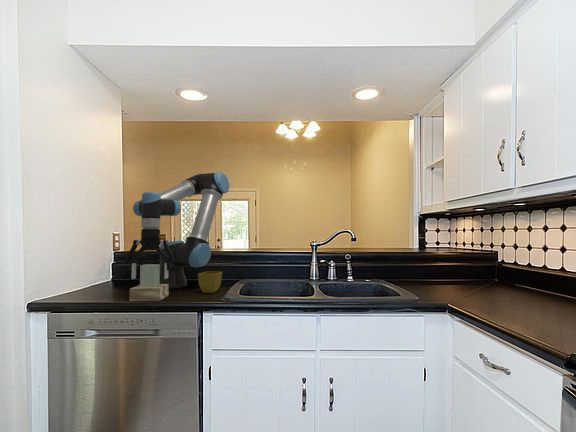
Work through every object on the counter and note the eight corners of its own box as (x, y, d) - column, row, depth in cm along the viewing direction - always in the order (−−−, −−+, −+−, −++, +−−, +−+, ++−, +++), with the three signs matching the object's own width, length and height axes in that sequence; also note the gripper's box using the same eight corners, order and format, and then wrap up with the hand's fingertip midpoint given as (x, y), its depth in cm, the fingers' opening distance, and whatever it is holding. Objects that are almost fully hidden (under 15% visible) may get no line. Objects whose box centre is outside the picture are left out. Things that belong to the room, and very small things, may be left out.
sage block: (145, 285, 147) (145, 264, 147) (159, 285, 147) (159, 264, 148) (140, 287, 141) (140, 265, 141) (154, 287, 141) (155, 265, 142)
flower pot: (215, 294, 153) (215, 274, 153) (197, 293, 154) (197, 273, 155) (222, 290, 161) (222, 271, 162) (205, 290, 163) (205, 271, 163)
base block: (140, 295, 150) (141, 284, 150) (168, 295, 150) (168, 283, 150) (129, 301, 138) (129, 288, 138) (159, 300, 138) (159, 288, 138)
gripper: (117, 228, 141) (116, 280, 140) (177, 228, 142) (177, 279, 141) (124, 228, 148) (123, 277, 147) (182, 228, 150) (182, 277, 149)
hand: (150, 278), depth 144 cm, fingers open, 13 cm apart
